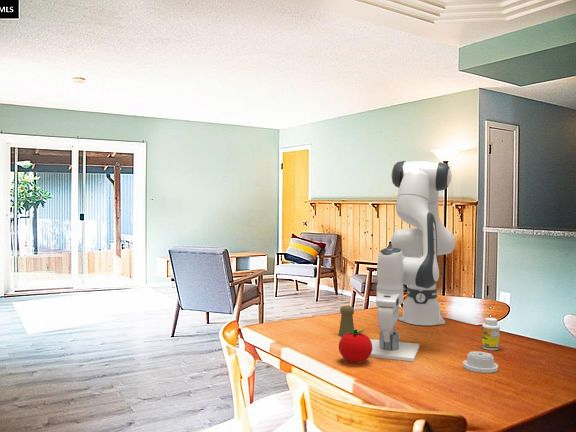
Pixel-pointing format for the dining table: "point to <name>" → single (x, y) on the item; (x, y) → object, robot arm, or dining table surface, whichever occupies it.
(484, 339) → the supplement bottle
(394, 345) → the ring
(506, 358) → the dining table surface
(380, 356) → the post block
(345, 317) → the olive pepper mill
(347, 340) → the tomato
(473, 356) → the mechanical component
